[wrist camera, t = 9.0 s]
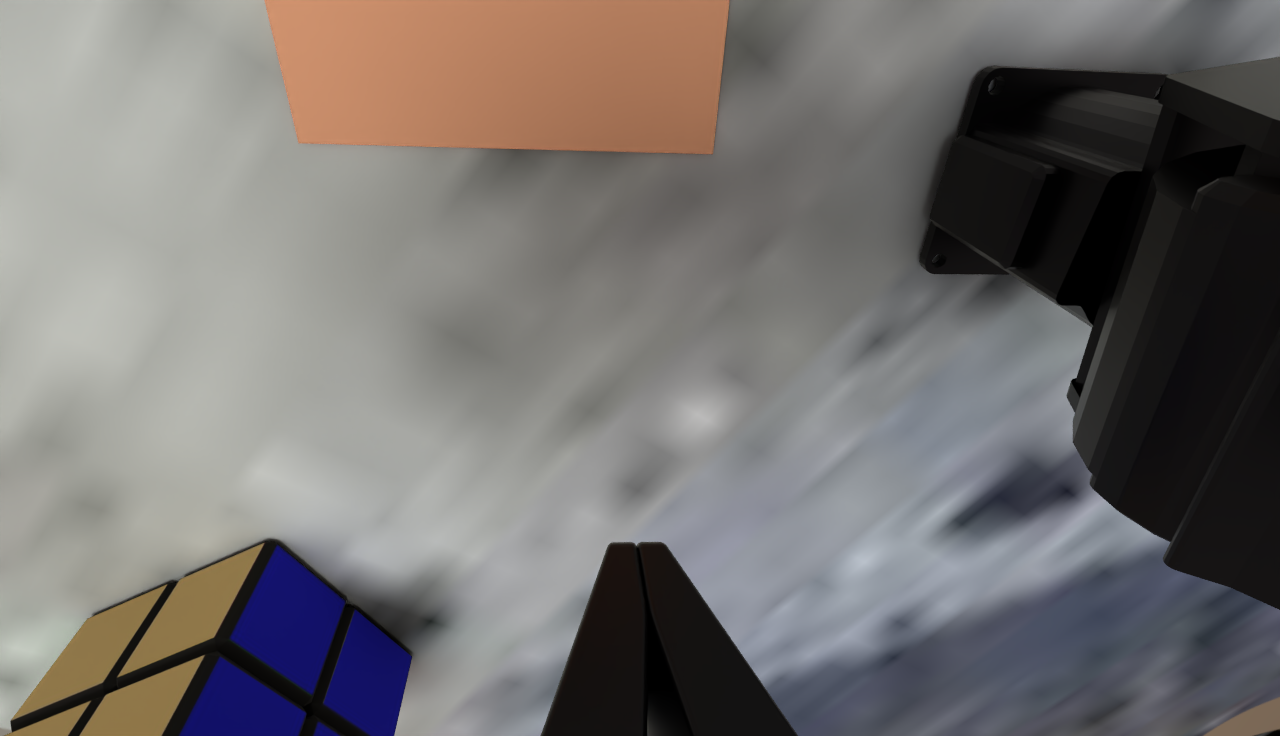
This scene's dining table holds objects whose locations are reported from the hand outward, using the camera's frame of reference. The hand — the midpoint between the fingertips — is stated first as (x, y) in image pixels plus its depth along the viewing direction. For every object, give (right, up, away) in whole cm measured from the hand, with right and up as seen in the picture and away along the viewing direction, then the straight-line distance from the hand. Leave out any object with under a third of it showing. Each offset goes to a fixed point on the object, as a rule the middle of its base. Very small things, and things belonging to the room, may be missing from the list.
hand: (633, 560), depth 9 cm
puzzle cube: (-18, -10, +20) cm, 28 cm away
